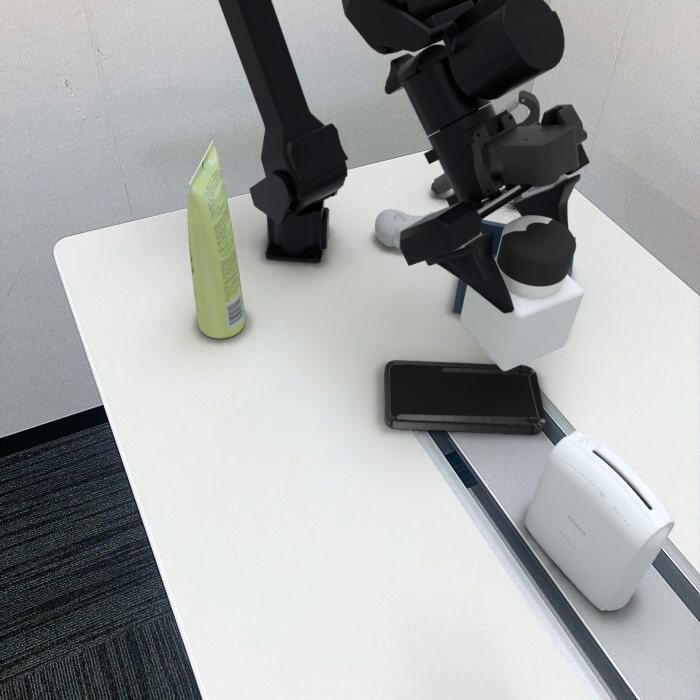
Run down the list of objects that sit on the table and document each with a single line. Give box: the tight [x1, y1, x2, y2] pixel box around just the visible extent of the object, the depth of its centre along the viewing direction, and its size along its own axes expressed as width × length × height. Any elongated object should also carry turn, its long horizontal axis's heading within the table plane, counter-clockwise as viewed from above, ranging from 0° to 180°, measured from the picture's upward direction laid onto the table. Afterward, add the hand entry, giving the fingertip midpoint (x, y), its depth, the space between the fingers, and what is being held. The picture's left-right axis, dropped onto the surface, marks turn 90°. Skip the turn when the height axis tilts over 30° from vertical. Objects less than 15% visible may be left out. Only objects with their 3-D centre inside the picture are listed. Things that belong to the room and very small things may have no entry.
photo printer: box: [524, 430, 676, 612], centre depth 57 cm, size 10×4×12 cm, turn 32°
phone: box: [383, 359, 546, 435], centre depth 73 cm, size 8×1×15 cm
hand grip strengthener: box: [430, 90, 541, 209], centre depth 91 cm, size 2×12×15 cm, turn 79°
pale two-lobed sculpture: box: [374, 208, 435, 250], centre depth 89 cm, size 4×8×5 cm
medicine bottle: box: [459, 215, 585, 371], centre depth 65 cm, size 7×7×12 cm
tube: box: [186, 139, 246, 339], centre depth 73 cm, size 6×5×20 cm
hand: (538, 289), depth 64 cm, fingers closed on medicine bottle, 8 cm apart
